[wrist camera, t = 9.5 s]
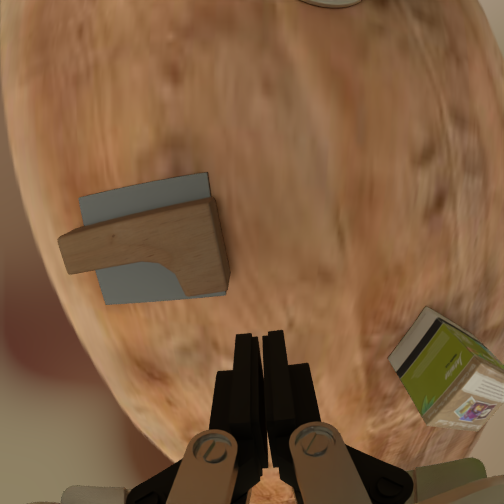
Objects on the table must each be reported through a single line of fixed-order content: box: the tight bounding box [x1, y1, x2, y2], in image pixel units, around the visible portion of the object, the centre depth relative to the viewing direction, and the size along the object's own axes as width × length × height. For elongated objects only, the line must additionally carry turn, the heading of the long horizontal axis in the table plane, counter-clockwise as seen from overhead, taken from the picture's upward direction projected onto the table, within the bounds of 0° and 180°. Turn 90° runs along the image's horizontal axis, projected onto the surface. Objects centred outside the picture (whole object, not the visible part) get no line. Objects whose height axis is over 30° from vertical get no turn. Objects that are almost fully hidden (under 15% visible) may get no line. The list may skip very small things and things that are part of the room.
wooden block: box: [58, 197, 230, 297], centre depth 30 cm, size 9×4×18 cm
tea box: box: [388, 307, 504, 431], centre depth 31 cm, size 15×10×15 cm
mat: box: [79, 172, 226, 305], centre depth 33 cm, size 16×14×1 cm
